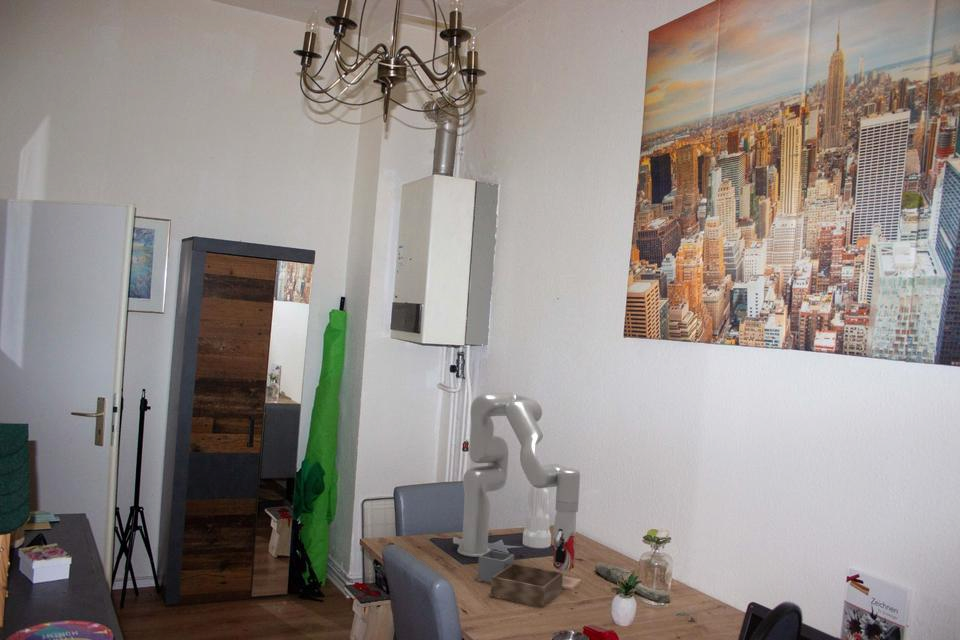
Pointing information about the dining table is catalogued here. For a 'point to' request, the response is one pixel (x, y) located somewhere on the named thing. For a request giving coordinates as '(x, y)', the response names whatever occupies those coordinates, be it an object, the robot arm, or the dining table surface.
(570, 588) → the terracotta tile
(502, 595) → the walnut crate
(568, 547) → the soda can
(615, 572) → the long grey stone
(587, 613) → the dining table surface
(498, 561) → the charcoal crate
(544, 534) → the decorative vase
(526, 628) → the dining table surface
